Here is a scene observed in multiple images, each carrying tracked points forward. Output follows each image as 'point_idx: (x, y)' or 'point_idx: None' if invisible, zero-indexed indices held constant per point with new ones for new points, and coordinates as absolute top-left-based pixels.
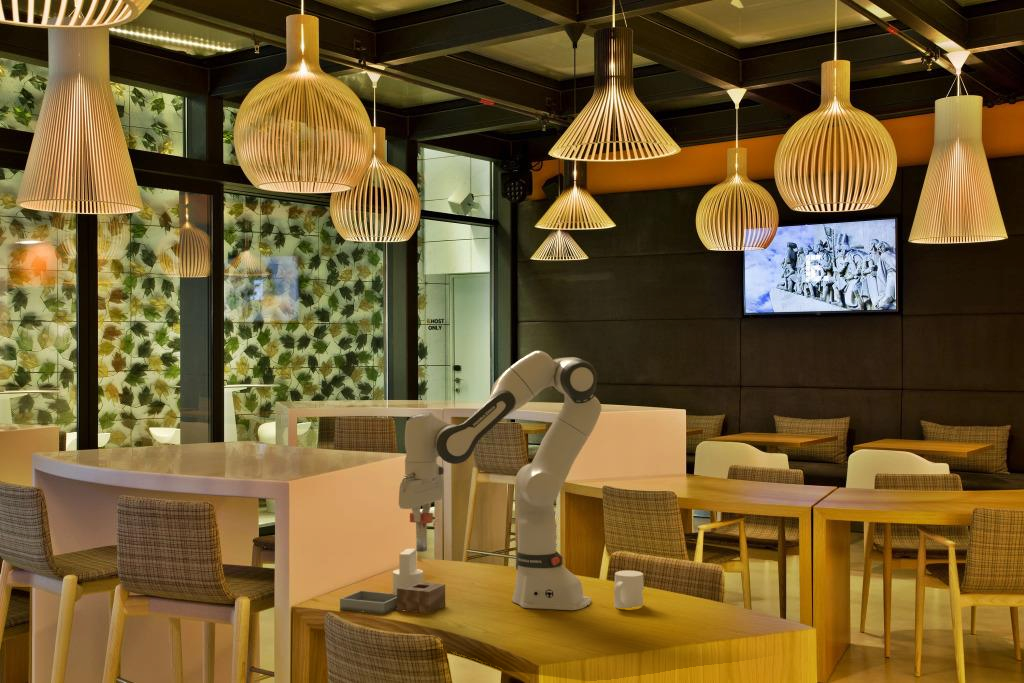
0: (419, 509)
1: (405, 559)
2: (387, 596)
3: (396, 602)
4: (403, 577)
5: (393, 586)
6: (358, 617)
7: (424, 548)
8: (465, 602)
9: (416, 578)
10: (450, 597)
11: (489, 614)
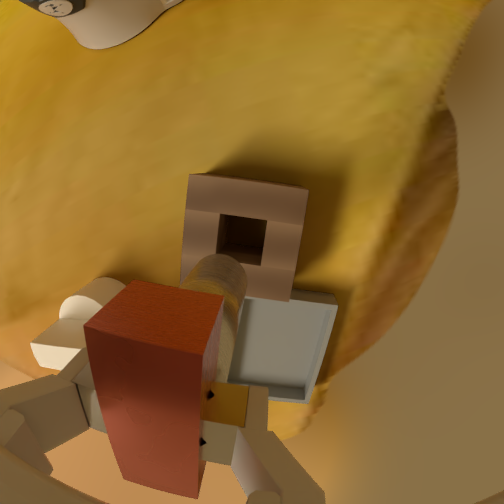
0: (288, 496)
1: None
2: None
3: None
4: None
5: None
6: (365, 334)
7: (233, 265)
8: (159, 135)
9: (105, 299)
10: (123, 192)
11: (264, 39)
